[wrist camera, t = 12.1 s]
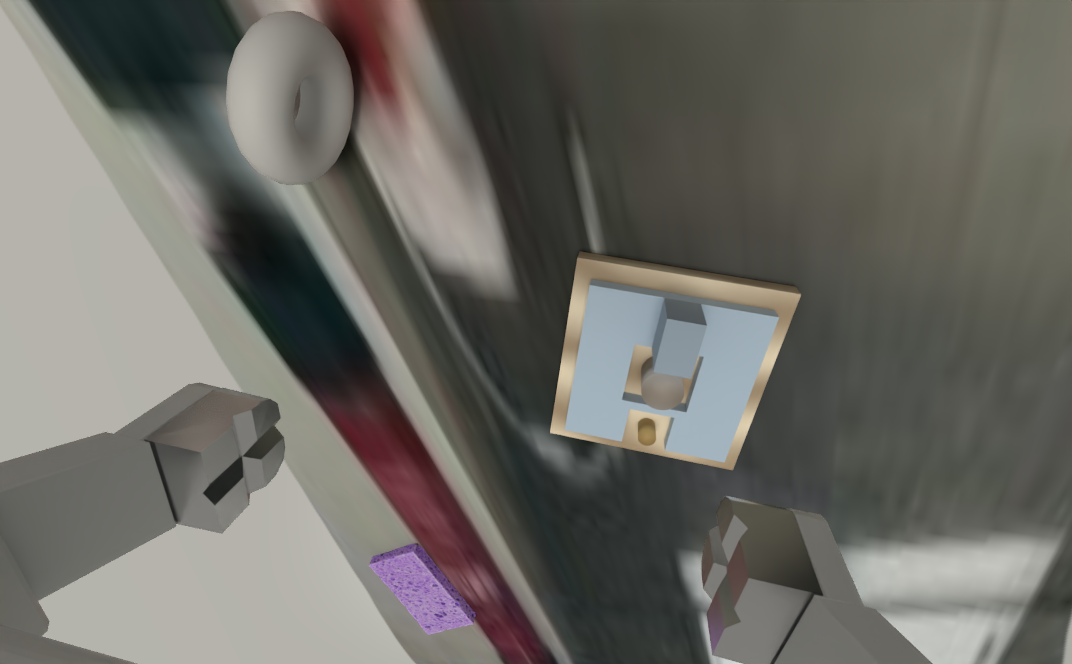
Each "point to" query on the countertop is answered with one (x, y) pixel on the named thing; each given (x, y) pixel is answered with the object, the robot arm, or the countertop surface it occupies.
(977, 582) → the countertop surface
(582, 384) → the flange plate
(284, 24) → the donut
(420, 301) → the countertop surface
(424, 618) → the sponges
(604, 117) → the countertop surface
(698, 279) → the post board
